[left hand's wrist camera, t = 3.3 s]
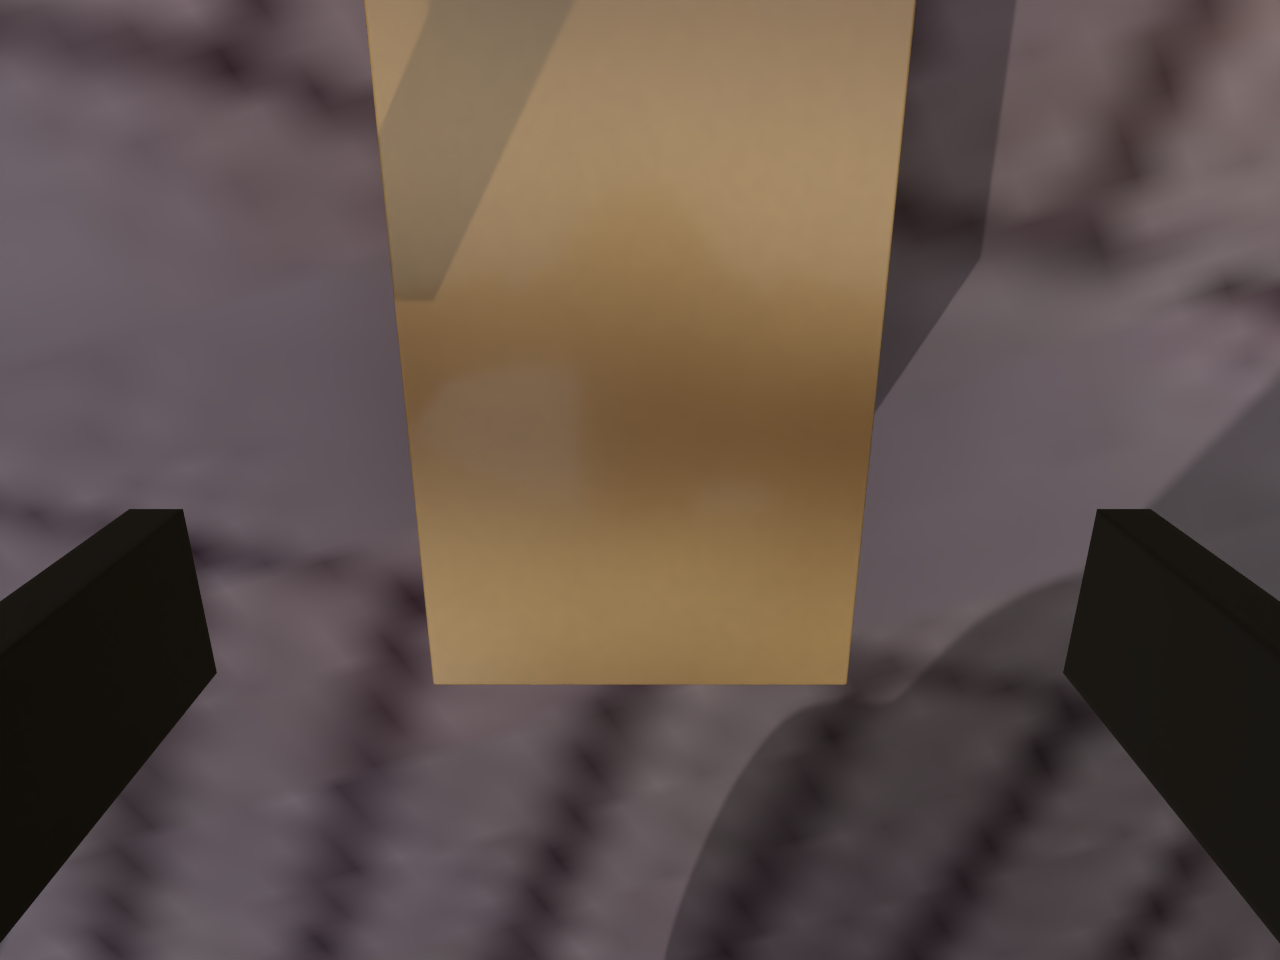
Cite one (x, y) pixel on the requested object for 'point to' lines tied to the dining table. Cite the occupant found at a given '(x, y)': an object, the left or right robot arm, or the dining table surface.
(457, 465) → the wide beam
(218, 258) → the dining table surface
